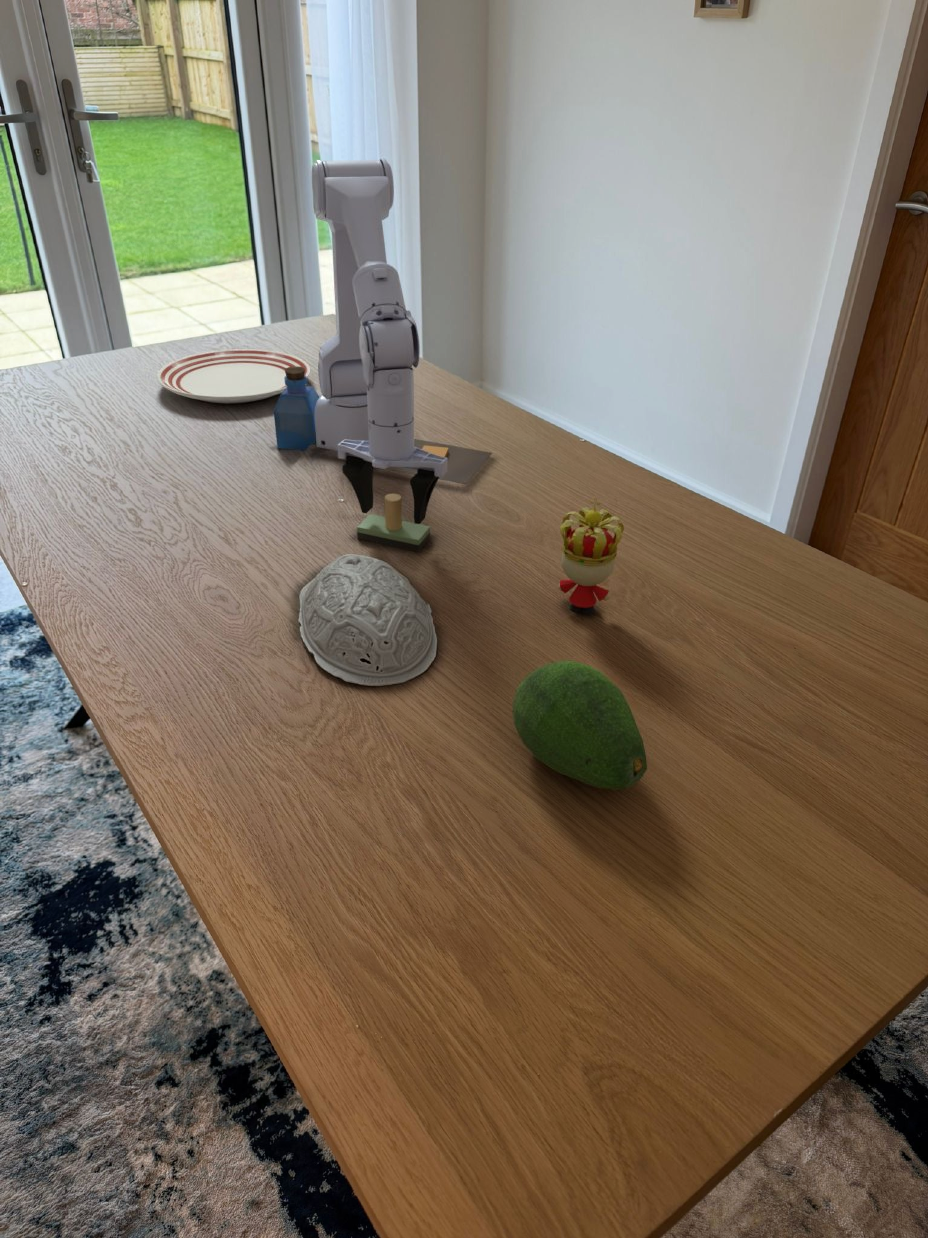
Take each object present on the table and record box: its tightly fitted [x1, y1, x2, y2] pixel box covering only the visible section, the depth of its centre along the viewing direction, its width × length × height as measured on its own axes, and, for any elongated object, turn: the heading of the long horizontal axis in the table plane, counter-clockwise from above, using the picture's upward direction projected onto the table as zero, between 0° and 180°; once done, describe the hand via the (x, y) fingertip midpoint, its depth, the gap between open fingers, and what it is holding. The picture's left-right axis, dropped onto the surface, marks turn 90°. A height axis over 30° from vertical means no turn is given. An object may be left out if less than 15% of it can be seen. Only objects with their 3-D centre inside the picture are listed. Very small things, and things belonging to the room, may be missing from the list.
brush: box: [356, 493, 431, 553], centre depth 119 cm, size 9×4×6 cm, turn 69°
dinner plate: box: [156, 348, 311, 404], centre depth 165 cm, size 28×27×3 cm
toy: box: [557, 497, 625, 616], centre depth 103 cm, size 7×7×15 cm
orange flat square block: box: [422, 445, 449, 457], centre depth 140 cm, size 4×4×1 cm
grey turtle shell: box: [298, 553, 438, 687], centre depth 103 cm, size 16×25×7 cm, turn 16°
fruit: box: [511, 659, 648, 791], centre depth 83 cm, size 15×10×10 cm, turn 28°
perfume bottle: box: [273, 366, 320, 451], centre depth 143 cm, size 6×6×12 cm
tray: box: [386, 438, 493, 485], centre depth 139 cm, size 16×12×1 cm
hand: (393, 515), depth 119 cm, fingers open, 7 cm apart
